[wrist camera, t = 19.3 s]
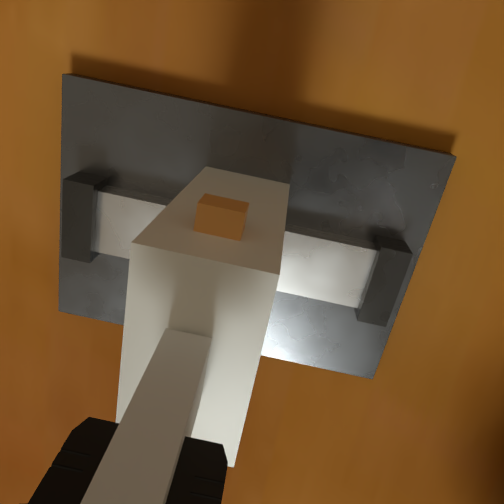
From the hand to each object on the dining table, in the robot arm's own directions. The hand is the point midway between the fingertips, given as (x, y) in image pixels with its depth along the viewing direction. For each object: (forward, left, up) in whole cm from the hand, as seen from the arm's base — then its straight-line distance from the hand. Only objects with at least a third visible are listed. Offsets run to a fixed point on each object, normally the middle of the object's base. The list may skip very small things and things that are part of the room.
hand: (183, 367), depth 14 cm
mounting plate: (0, 0, -12) cm, 12 cm away
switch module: (0, 0, -11) cm, 11 cm away
